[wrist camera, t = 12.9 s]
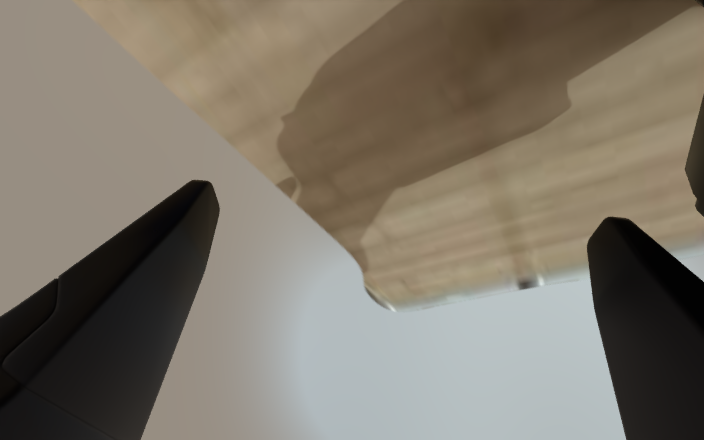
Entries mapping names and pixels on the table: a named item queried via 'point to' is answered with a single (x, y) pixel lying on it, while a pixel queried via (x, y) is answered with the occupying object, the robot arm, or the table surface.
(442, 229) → the table surface
